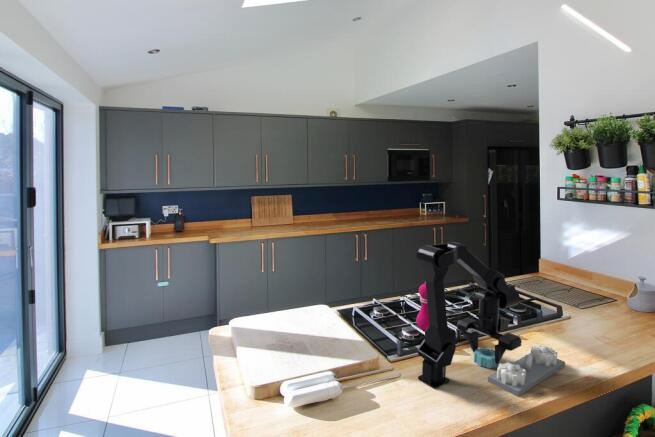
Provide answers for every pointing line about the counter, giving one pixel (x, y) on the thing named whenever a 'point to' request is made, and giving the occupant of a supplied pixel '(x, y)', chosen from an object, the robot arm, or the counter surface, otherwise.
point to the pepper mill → (423, 309)
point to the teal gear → (485, 357)
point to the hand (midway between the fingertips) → (486, 358)
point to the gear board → (527, 370)
